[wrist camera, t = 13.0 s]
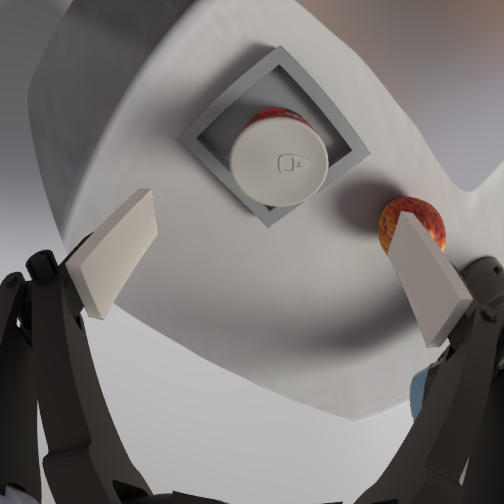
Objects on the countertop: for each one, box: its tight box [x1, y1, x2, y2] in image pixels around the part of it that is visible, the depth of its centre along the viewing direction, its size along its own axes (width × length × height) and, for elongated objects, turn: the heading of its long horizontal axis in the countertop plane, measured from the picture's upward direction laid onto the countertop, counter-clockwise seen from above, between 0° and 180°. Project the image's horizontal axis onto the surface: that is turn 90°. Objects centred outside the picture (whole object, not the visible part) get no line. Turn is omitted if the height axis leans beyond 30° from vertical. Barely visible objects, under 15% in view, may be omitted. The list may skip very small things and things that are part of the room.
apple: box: [378, 197, 446, 256], centre depth 30 cm, size 9×9×10 cm
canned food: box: [230, 107, 329, 207], centre depth 25 cm, size 8×8×11 cm
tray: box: [177, 45, 371, 228], centre depth 29 cm, size 16×16×3 cm
